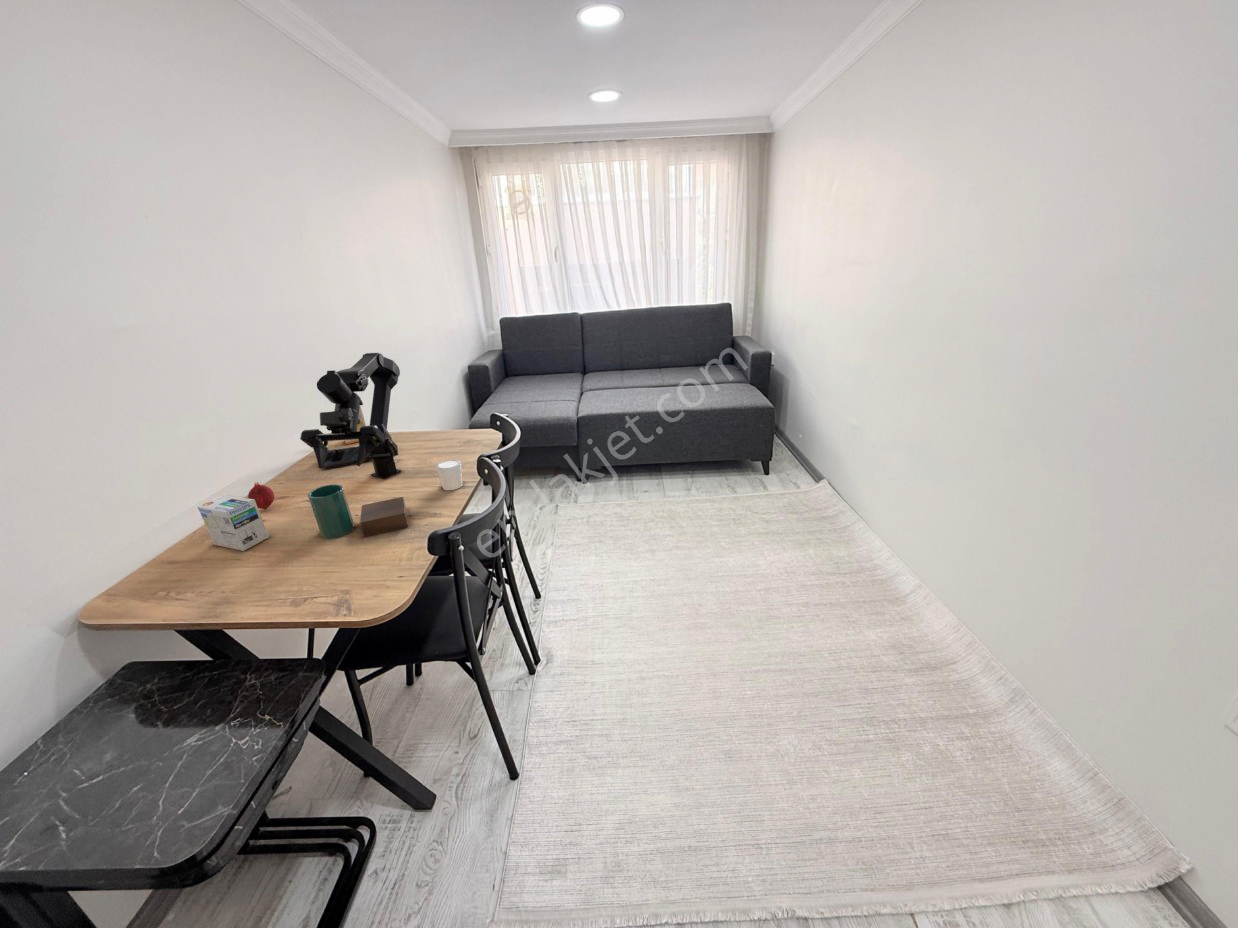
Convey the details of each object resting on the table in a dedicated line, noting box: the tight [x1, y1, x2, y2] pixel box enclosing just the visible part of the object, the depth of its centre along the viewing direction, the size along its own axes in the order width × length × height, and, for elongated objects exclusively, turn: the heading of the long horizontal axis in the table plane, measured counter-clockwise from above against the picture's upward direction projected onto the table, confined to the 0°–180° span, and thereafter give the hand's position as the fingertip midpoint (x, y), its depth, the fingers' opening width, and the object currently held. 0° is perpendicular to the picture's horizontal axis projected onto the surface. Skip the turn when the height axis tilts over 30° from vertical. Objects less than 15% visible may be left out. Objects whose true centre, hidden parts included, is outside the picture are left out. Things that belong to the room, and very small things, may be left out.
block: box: [359, 496, 409, 538], centre depth 125 cm, size 10×10×4 cm
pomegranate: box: [247, 481, 275, 510], centre depth 134 cm, size 6×6×8 cm
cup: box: [307, 483, 355, 539], centre depth 121 cm, size 7×7×11 cm
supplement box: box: [344, 405, 367, 445], centre depth 181 cm, size 8×5×13 cm, turn 123°
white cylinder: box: [435, 459, 464, 491], centre depth 143 cm, size 7×7×7 cm
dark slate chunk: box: [323, 445, 372, 470], centre depth 167 cm, size 15×22×5 cm
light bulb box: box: [196, 494, 270, 552], centre depth 118 cm, size 11×7×11 cm, turn 71°
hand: (339, 466), depth 125 cm, fingers open, 9 cm apart
